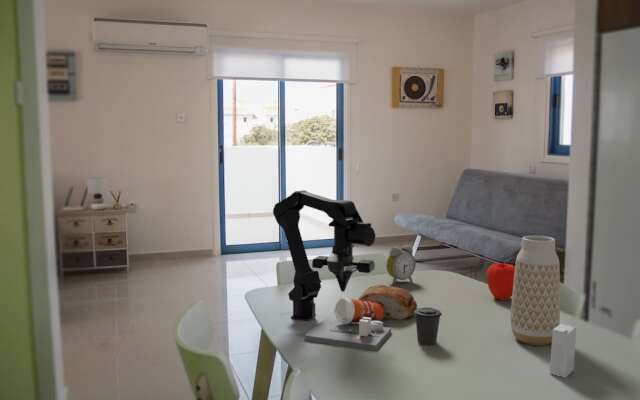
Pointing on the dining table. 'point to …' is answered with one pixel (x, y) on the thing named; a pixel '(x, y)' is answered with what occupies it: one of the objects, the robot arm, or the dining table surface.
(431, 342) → the coffee cup
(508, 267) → the apple
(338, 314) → the coffee cup
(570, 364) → the skincare box
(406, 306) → the bread
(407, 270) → the alarm clock
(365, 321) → the fader
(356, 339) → the console
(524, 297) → the vase
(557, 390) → the dining table surface
